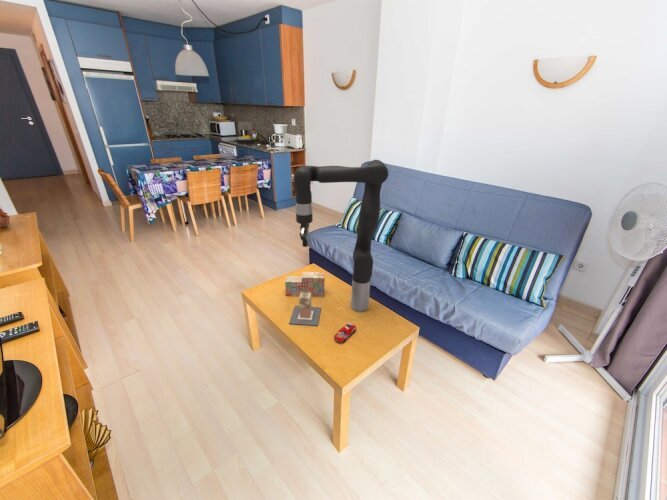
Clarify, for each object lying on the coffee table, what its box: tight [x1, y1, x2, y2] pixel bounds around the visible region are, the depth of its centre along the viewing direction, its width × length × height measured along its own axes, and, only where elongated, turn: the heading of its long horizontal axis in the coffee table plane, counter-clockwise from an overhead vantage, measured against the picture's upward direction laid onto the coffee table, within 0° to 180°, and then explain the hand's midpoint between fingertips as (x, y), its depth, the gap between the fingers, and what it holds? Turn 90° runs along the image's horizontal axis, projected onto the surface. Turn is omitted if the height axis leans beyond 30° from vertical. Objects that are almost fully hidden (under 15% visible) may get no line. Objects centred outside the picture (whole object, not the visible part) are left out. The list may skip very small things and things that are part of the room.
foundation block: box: [300, 304, 312, 318], centre depth 149 cm, size 5×5×6 cm
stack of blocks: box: [284, 271, 325, 297], centre depth 167 cm, size 21×6×12 cm, turn 90°
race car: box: [333, 322, 357, 344], centre depth 139 cm, size 13×5×4 cm, turn 141°
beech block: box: [298, 292, 312, 309], centre depth 146 cm, size 5×5×6 cm
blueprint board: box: [288, 305, 322, 327], centre depth 151 cm, size 14×14×1 cm
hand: (305, 246), depth 143 cm, fingers closed
